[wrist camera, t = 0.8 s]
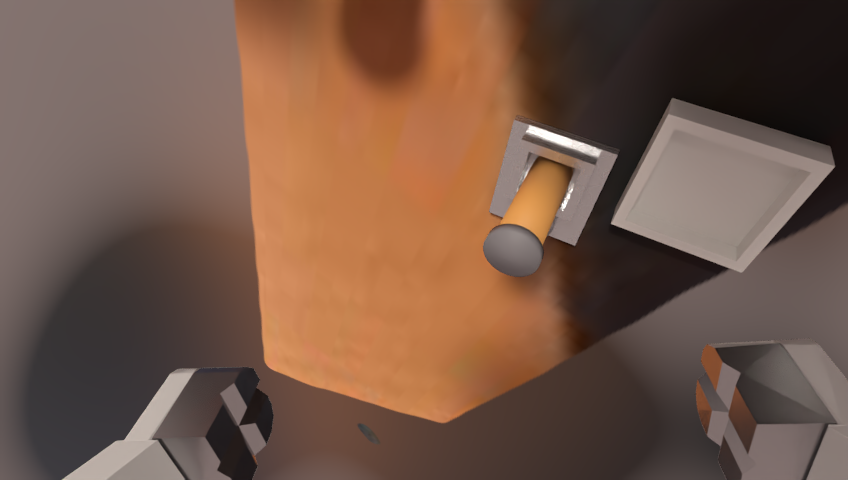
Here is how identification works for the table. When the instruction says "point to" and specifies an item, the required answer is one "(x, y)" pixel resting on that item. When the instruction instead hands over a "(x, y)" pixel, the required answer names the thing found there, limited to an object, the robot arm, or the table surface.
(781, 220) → the tray
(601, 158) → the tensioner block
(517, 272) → the lock pin
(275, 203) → the table surface
